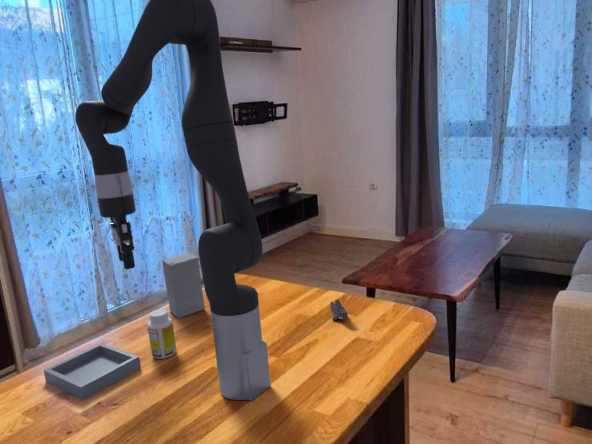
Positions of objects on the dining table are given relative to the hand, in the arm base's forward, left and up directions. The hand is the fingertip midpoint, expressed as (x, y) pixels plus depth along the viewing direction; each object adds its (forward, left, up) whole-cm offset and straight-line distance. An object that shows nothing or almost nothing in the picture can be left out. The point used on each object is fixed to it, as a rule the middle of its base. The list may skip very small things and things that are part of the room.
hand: (127, 264), depth 116 cm
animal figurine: (-33, -37, -22) cm, 54 cm away
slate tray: (0, +12, -21) cm, 25 cm away
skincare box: (+7, -22, -22) cm, 31 cm away
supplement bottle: (-7, -2, -22) cm, 23 cm away
